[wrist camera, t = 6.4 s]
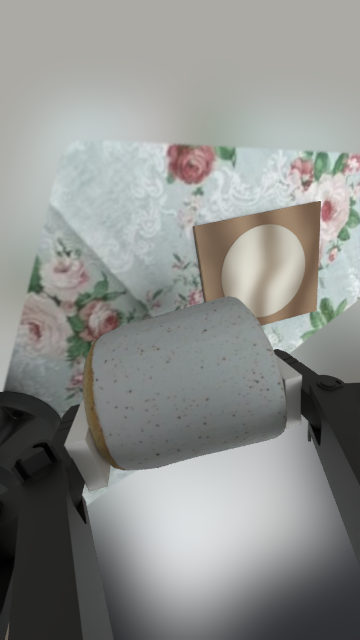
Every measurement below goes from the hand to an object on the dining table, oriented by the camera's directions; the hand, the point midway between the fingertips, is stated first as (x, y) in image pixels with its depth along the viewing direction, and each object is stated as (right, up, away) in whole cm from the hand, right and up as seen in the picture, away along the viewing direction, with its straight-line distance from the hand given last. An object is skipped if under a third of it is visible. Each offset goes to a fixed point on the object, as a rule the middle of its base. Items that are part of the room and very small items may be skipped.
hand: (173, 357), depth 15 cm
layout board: (+12, +10, +16) cm, 22 cm away
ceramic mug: (0, 0, +1) cm, 1 cm away
